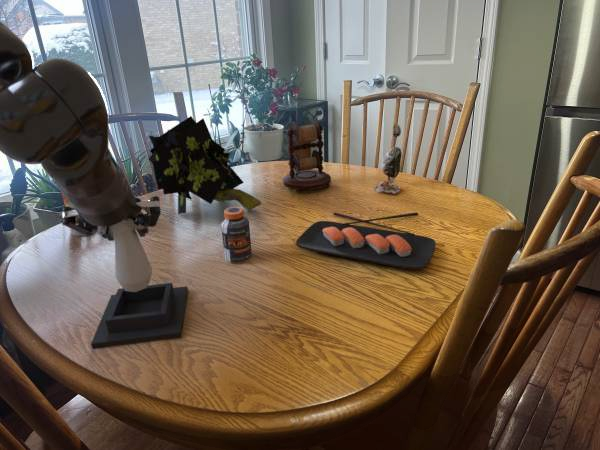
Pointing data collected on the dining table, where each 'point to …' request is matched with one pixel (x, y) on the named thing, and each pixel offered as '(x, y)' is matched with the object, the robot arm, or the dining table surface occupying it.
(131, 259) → the salt shaker
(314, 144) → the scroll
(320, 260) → the dining table surface
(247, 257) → the pill bottle
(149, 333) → the base pad
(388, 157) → the grey upright piece
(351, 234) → the sushi plate
